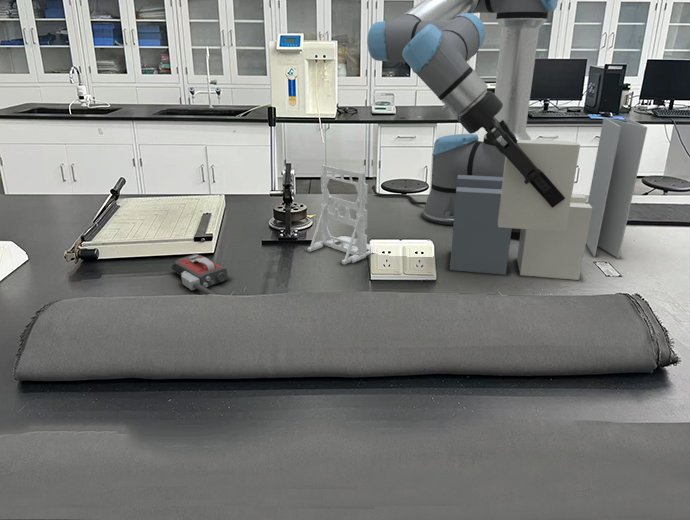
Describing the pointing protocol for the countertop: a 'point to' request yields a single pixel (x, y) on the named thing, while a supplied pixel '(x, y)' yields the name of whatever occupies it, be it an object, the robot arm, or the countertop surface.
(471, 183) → the grey books
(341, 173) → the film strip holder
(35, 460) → the countertop surface
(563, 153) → the white book
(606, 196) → the brochure
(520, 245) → the white books
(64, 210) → the countertop surface
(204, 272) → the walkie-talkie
